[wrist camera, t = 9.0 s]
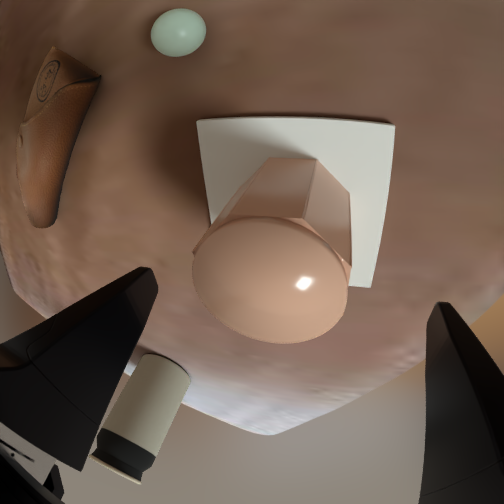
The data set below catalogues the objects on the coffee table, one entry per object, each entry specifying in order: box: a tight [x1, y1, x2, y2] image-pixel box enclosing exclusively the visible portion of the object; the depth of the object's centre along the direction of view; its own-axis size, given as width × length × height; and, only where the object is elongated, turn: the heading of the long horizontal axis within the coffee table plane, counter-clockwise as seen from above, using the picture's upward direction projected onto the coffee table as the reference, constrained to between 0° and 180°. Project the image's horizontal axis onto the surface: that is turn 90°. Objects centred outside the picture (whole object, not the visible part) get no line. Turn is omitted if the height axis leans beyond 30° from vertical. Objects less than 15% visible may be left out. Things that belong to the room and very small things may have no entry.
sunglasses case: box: [16, 46, 101, 228], centre depth 21 cm, size 18×7×7 cm
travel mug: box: [89, 354, 191, 484], centre depth 33 cm, size 8×8×18 cm
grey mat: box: [196, 116, 395, 288], centre depth 19 cm, size 12×12×1 cm
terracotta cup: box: [192, 157, 352, 344], centre depth 16 cm, size 7×7×8 cm
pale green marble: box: [151, 8, 206, 57], centre depth 13 cm, size 3×3×3 cm
